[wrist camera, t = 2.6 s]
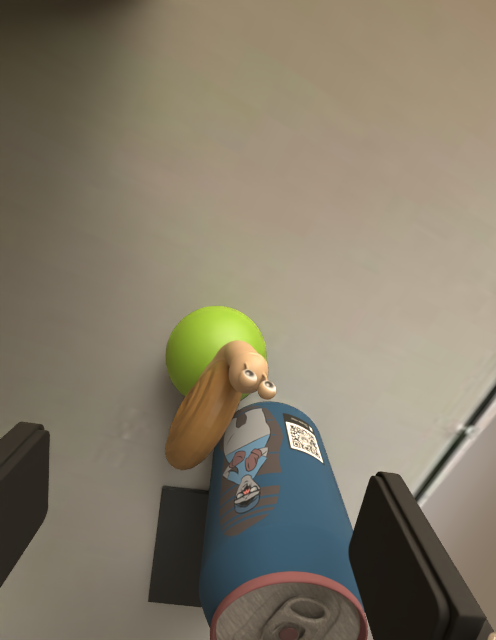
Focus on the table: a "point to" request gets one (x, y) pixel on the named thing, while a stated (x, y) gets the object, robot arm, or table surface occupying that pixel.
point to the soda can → (277, 535)
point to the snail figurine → (212, 378)
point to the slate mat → (179, 547)
